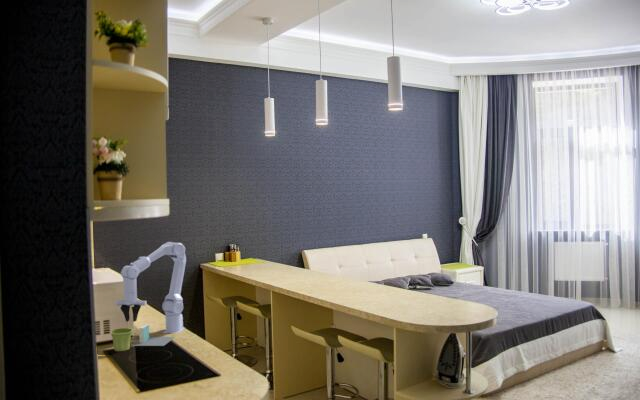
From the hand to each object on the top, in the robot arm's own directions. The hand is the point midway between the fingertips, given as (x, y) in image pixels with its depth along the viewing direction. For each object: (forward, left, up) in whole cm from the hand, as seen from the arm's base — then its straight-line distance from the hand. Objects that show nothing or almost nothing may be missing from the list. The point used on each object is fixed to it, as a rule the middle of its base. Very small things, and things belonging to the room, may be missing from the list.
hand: (131, 321), depth 250 cm
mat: (0, +10, -10) cm, 14 cm away
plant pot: (+12, +1, -10) cm, 16 cm away
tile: (0, +6, -9) cm, 11 cm away
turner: (-8, +2, -10) cm, 13 cm away
